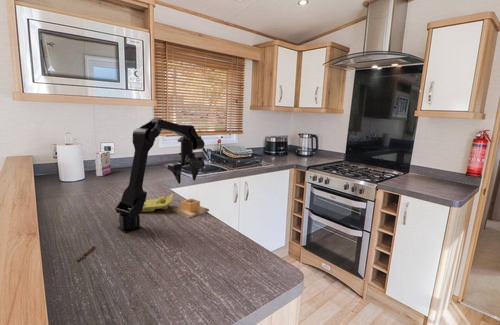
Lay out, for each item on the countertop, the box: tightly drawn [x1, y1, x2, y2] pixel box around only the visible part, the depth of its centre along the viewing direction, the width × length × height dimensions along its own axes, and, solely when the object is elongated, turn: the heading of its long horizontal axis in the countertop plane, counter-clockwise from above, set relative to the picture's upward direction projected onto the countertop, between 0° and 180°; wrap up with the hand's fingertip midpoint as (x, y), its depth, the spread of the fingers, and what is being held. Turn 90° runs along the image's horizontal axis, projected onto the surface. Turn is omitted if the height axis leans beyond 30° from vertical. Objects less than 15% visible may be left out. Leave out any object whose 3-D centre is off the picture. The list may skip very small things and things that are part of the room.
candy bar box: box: [94, 150, 112, 177], centre depth 188 cm, size 11×5×16 cm, turn 179°
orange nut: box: [181, 198, 201, 212], centre depth 126 cm, size 6×6×4 cm
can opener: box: [74, 245, 96, 263], centre depth 85 cm, size 9×2×1 cm, turn 173°
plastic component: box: [128, 193, 174, 213], centre depth 127 cm, size 20×7×10 cm
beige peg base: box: [172, 200, 210, 219], centre depth 126 cm, size 12×12×5 cm
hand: (186, 182), depth 132 cm, fingers open, 9 cm apart
